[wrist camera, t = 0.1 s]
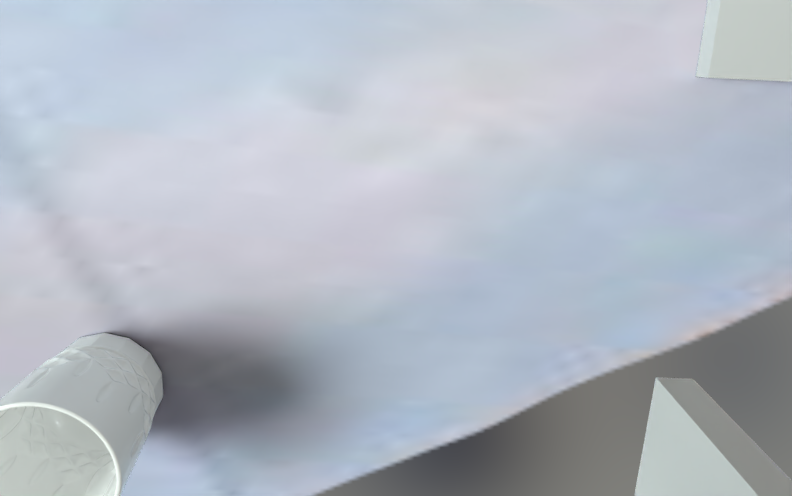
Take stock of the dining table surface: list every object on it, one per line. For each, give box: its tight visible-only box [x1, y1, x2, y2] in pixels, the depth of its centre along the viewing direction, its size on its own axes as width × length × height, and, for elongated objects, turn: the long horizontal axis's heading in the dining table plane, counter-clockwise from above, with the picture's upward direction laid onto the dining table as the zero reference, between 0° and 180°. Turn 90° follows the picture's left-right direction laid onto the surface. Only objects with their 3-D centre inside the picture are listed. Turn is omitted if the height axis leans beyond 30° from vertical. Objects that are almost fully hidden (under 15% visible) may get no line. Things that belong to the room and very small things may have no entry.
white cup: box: [0, 333, 163, 496], centre depth 38 cm, size 8×8×10 cm
